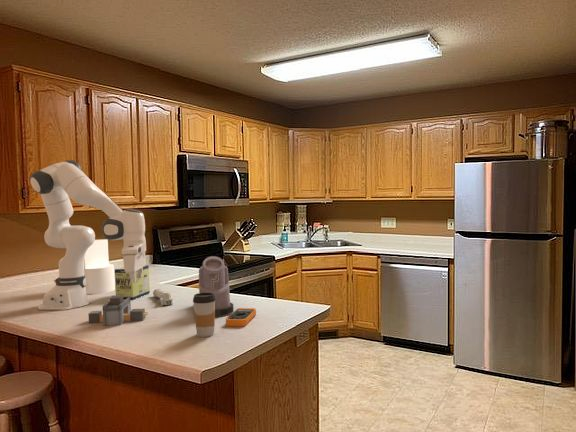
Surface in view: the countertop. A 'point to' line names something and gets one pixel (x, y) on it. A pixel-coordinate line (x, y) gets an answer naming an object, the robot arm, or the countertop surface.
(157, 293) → the toothbrush head
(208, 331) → the coffee cup
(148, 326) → the countertop surface
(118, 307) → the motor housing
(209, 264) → the juicer
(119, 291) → the protein box
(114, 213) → the robot arm
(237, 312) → the multimeter
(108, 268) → the cylinder
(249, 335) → the countertop surface
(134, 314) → the wooden and grey bar
